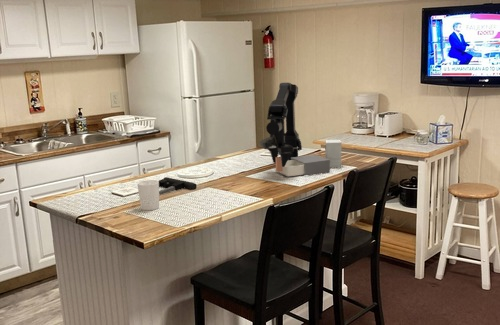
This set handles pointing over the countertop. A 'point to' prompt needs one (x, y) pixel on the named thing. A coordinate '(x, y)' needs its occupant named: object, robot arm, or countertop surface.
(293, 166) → the tray
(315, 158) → the mailer sleeve
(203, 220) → the countertop surface
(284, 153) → the robot arm
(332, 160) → the supplement box
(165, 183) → the black handgun
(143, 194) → the white cup
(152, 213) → the countertop surface
